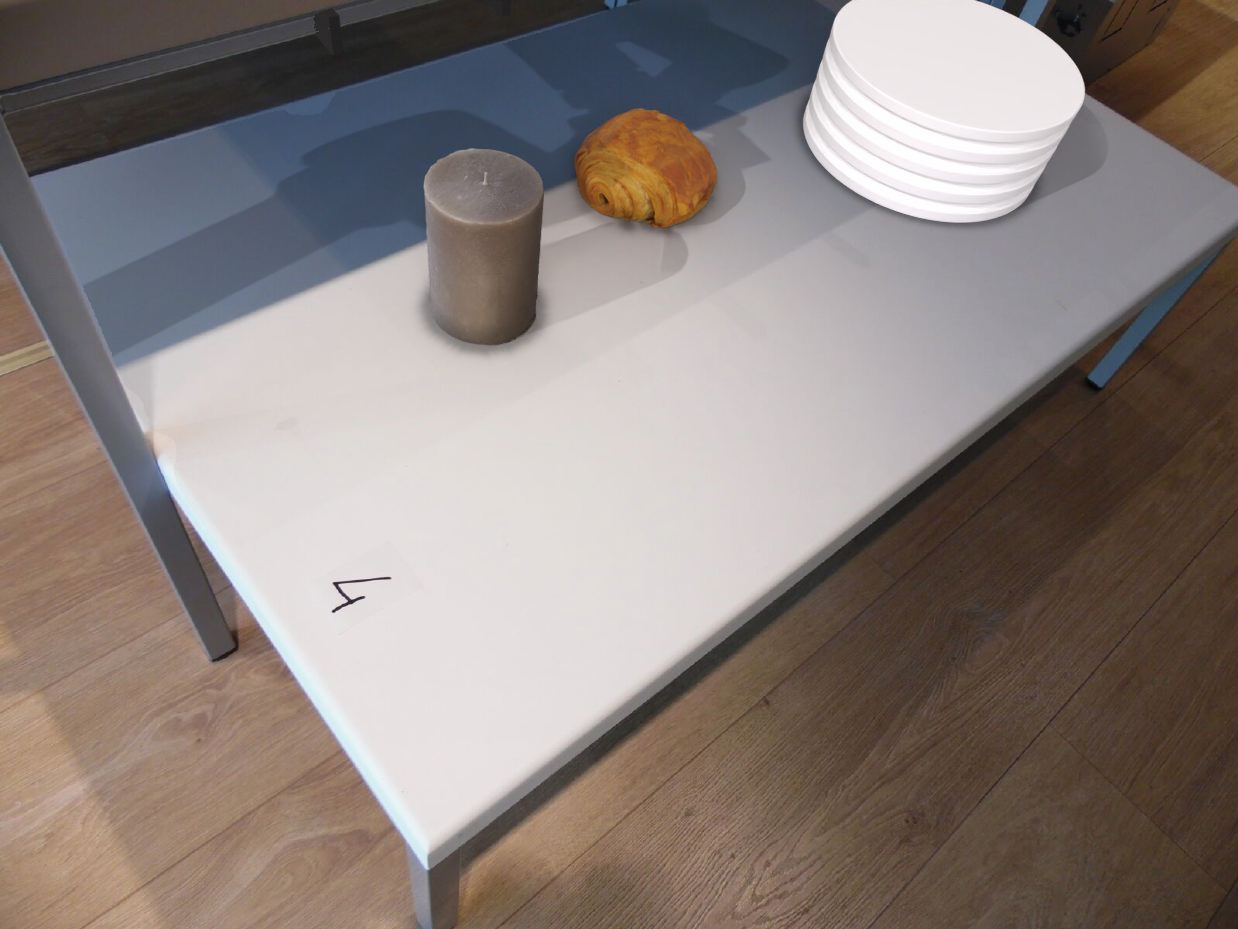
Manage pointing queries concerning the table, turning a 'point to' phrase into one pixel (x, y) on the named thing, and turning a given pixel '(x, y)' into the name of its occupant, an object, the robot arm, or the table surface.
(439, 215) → the pillar candle
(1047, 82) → the plate stack
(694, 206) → the croissant
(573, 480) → the table surface
